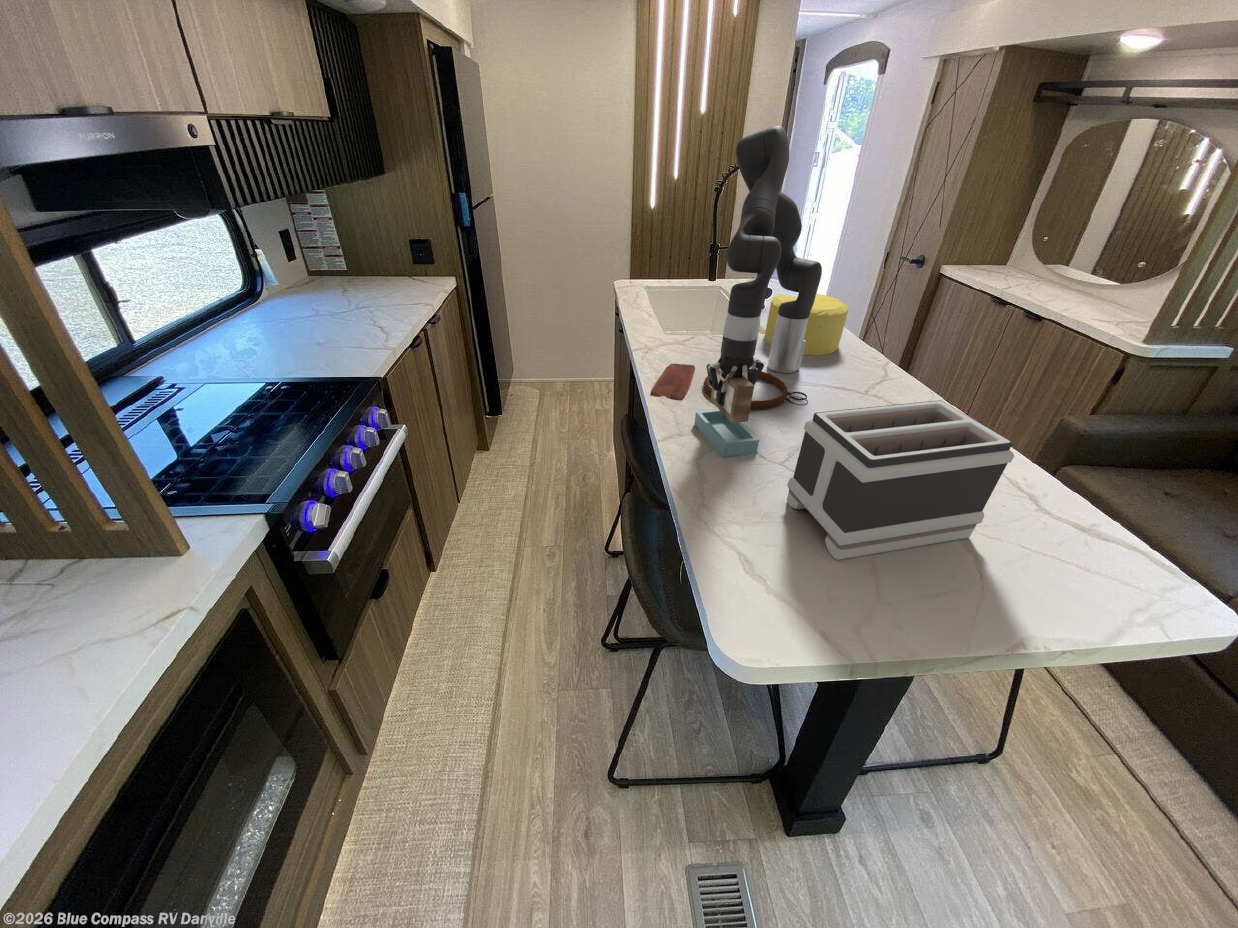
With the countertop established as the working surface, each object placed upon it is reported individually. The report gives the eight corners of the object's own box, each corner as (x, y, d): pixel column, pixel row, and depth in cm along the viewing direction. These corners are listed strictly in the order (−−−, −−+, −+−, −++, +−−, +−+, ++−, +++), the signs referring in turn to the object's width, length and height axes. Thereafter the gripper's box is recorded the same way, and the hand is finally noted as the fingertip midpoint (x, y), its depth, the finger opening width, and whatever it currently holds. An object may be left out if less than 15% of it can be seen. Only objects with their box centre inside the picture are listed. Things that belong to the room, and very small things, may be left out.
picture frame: (710, 400, 127) (714, 366, 123) (725, 398, 128) (730, 365, 124) (731, 423, 118) (737, 387, 113) (747, 421, 119) (754, 385, 114)
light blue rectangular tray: (694, 423, 133) (695, 411, 131) (726, 419, 135) (728, 408, 133) (722, 457, 120) (724, 444, 118) (756, 452, 122) (759, 439, 120)
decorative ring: (807, 412, 134) (695, 392, 143) (804, 422, 136) (694, 402, 144) (812, 378, 153) (713, 362, 162) (810, 387, 155) (712, 370, 163)
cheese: (771, 326, 201) (778, 287, 193) (841, 337, 193) (852, 296, 184) (757, 347, 182) (764, 304, 173) (834, 360, 173) (846, 316, 164)
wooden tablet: (683, 403, 144) (683, 397, 143) (648, 397, 146) (649, 392, 146) (699, 367, 166) (699, 363, 165) (668, 363, 168) (669, 358, 167)
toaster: (990, 536, 99) (1043, 442, 87) (833, 563, 91) (868, 464, 80) (921, 482, 113) (959, 395, 102) (782, 501, 106) (805, 410, 95)
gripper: (761, 326, 118) (748, 394, 127) (704, 330, 114) (695, 399, 123) (778, 337, 112) (763, 407, 121) (718, 341, 108) (708, 414, 117)
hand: (729, 403), depth 122 cm, fingers closed on picture frame, 4 cm apart
